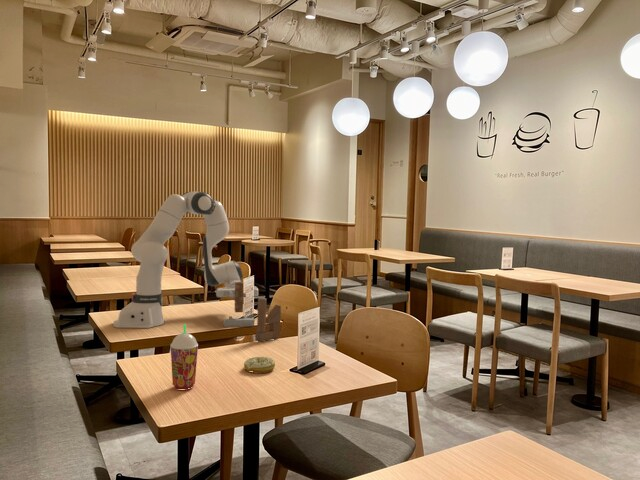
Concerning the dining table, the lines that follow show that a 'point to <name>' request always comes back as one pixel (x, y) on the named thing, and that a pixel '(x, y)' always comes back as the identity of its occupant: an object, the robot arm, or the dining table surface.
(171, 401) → the dining table surface
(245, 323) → the socket
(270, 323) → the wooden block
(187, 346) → the smoothie
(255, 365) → the decorated donut
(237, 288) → the plank
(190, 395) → the dining table surface
